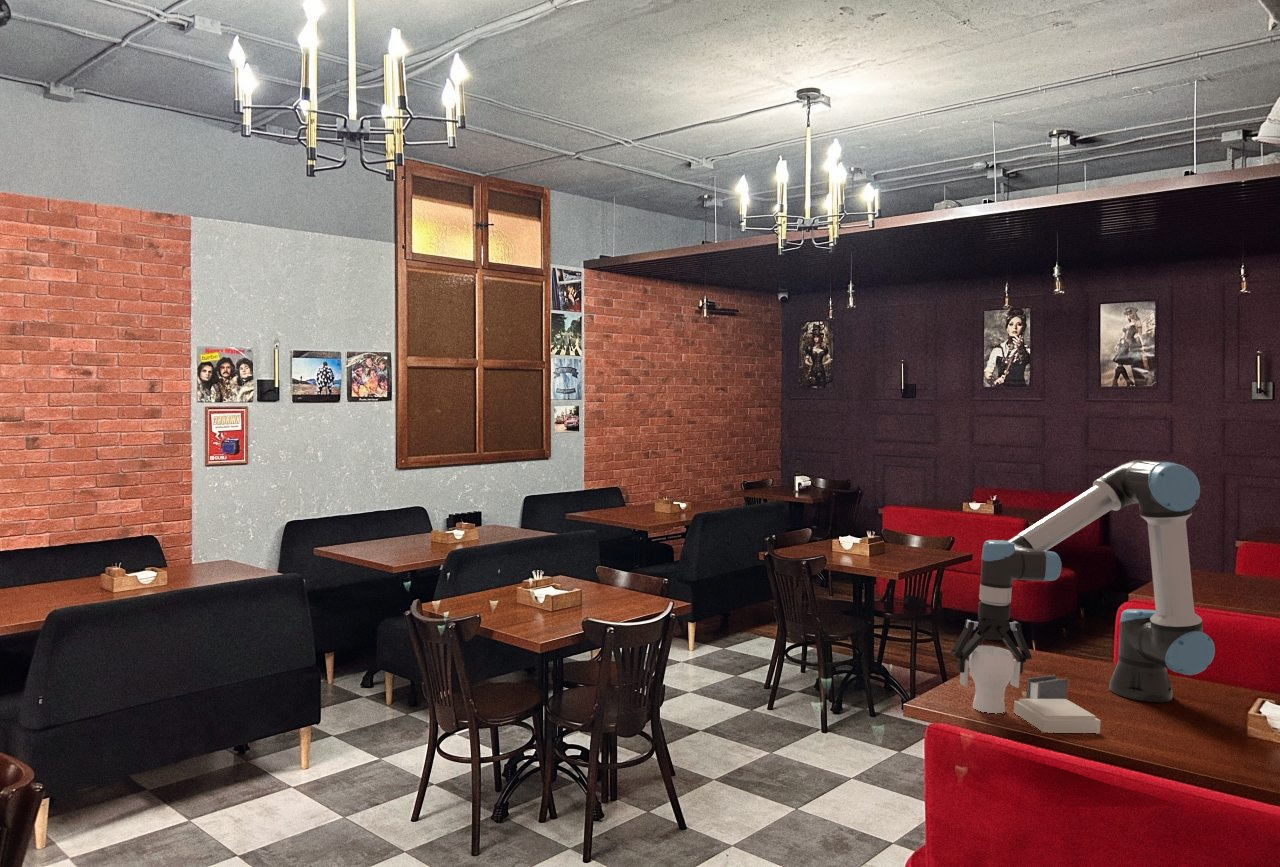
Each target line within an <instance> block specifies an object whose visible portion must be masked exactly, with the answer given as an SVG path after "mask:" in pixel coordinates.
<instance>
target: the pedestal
mask: <svg viewBox="0 0 1280 867" xmlns="http://www.w3.org/2000/svg"><path fill="white" fill-rule="evenodd" d="M1014 713H1015V714H1016V716H1017V715H1018V716H1020V717H1021V718H1023V719H1024V720H1026V721H1027V722H1029V723H1030V724H1032V725H1034V726H1035V727H1037V728H1038V729H1039V730H1041V731H1043V732H1048V733H1053V732H1054V733H1096V735H1097V734H1098V735H1100V733H1101V722H1102V721H1101V719H1099V718H1098V717H1096V715H1094V714H1093V713H1091V712H1090V711H1088V710H1086V709H1084V708H1082V707H1081V706H1079V705H1078V704H1076V703H1074V702H1072V701H1070V700H1068V699H1067V698H1066V699H1026V698H1019V699H1018V700H1014V702H1013V714H1014ZM1015 714H1014V715H1015ZM1018 716H1017V717H1018ZM1020 717H1019V718H1020ZM1021 718H1020V719H1021ZM1023 719H1022V720H1023ZM1024 720H1023V721H1024ZM1026 721H1025V722H1026ZM1027 722H1026V723H1027ZM1029 723H1028V724H1029ZM1030 724H1029V725H1030ZM1032 725H1031V726H1032ZM1035 727H1034V728H1035ZM1038 729H1037V730H1038ZM1039 730H1038V731H1039Z"/></svg>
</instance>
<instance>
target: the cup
mask: <svg viewBox="0 0 1280 867" xmlns="http://www.w3.org/2000/svg"><path fill="white" fill-rule="evenodd" d="M1013 659H1014V655H1013V654H1012V652H1011V651H1010V650H1009V649H1008V648H1007V649H1006V648H1003V647H1000V646H992V645H978V646H977V648H976V649H975V650H974V651H973V652H972V653H971V654H970V655H969V656H968V661H969V668H968V669H969V672H970V673H969V674H970V676H971V678H972V680H973V683H974V688H975V689H974V690H975V693H974V698H973V702H972V709H974V710H975V709H976V710H975V711H977V710H978V712H980V711H981V713H984V712H987V713H986V714H989V713H995V714H994V715H998V714H997V713H1002V714H1004V713H1006V706H1005V704H1006V703H1005V693H1006V688H1007V686H1008V685H1009V684H1010V683H1011V677H1012V675H1013V672H1014V661H1013ZM1003 712H1004V713H1003Z"/></svg>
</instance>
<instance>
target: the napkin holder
mask: <svg viewBox="0 0 1280 867" xmlns="http://www.w3.org/2000/svg"><path fill="white" fill-rule="evenodd" d="M1067 693H1068V678H1059V679H1057V674H1049V675H1042V676H1036V677H1035V676H1034V677H1028V678H1026V694H1025V696H1026V697H1025V699H1067Z"/></svg>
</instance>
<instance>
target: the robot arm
mask: <svg viewBox="0 0 1280 867" xmlns="http://www.w3.org/2000/svg"><path fill="white" fill-rule="evenodd" d="M1200 494H1201V487H1200V482H1199V480H1198V476H1196V474H1195V473H1194V472H1193V471H1192V470H1191V469H1190V468H1188V467H1186V466H1185V465H1182V464H1179V463H1175V462H1171V461H1159V460H1158V461H1157V460H1148V459H1136V460H1135V459H1134V460H1131V461H1128V462H1125V463H1123V464H1120V465H1119V466H1117V467H1115V468H1113V469H1111V470H1110V471H1108V472H1106V473H1105V474H1103V475H1101V476H1100V477H1098V478H1097V479H1095V480H1094V481H1093V482H1092V486H1091V487H1089V489H1087V490H1085V491H1084V492H1082V493H1080V494H1079V495H1077V496H1076V497H1075V498H1072V499H1071V500H1069V501H1068V502H1066V503H1065V504H1063V505H1062V506H1060V507H1059V508H1057V509H1056V510H1054V511H1053V512H1051V513H1049V514H1047V515H1046V516H1044V517H1042V518H1041V519H1039V521H1037V522H1035V523H1034V524H1031V525H1030V526H1029V527H1028V528H1025V530H1022V531H1021V532H1019V533H1018V534H1016V535H1014V536H1013V537H1012V538H1009V539H1008V540H1006V539H999V540H997V539H988V540H985V541H984V543H983V545H982V552H981V557H980V558H981V563H980V565H981V566H980V567H981V568H980V583H979V592H978V593H979V594H978V599H979V600H980V601H979V602H978V609H977V620H976V621H973V620H971V619H968V618H967V619H965V622H964V626H963V627H964V628H963V629H962V631H961V633H960V635H959V637H957V638H958V639H957V640H956V642H955V644H954V645H953V646H952V649H951V651H950V654H951V656H953V657H954V658H957V672H959V684H960V685H961V686H962V687H963V688H967V687H968V681H969V669H970V668H969V657H970V654H971V653H972V652H973V651H974V650H975V649H976V648H977V646H980V644H981V643H982V642H984V641H985V640H995V641H1000V640H1002V642H1003V643H1004V644H1005V646H1006V647H1007V649H1008V650H1009V651H1011V652H1012V655H1013V661H1014V672H1013V675H1012V677H1011V680H1010V685H1011V686H1012V687H1014V688H1016V689H1019V687H1020V675H1022V674H1023V672H1024V663H1026V662H1027V660H1032V654H1031V652H1030V649H1029V647H1028V646H1029V645H1028V643H1027V642H1026V640H1025V636H1024V634H1023V632H1022V623H1020V622H1018V621H1016V620H1013V621H1012V622H1010V617H1011V605H1010V604H1011V603H1012V590H1013V580H1015V581H1016V580H1017V581H1019V580H1021V581H1040V582H1048V581H1051V582H1052V581H1053V582H1054V581H1056V580H1058V578H1059V577H1060V576H1061V572H1062V566H1063V565H1062V561H1061V560H1062V559H1061V557H1060V556H1059V554H1058V553H1057V552H1055V551H1050V549H1052V548H1053V547H1054V546H1057V545H1058V544H1059V543H1061V542H1062V541H1064V540H1066V539H1067V538H1069V537H1071V536H1072V535H1073V534H1075V533H1078V532H1079V531H1080V530H1082V529H1083V528H1085V527H1086V526H1088V525H1090V524H1091V523H1092V522H1094V521H1096V520H1097V519H1099V518H1101V517H1102V516H1103V515H1105V514H1107V513H1108V512H1110V511H1115V512H1117V511H1119V510H1121V509H1123V508H1124V507H1126V506H1130V505H1133V504H1138V507H1139V516H1140V517H1141V518H1142V519H1144V521H1146V523H1147V533H1148V542H1149V552H1150V563H1151V573H1152V585H1153V595H1154V606H1155V609H1143V608H1142V609H1141V608H1140V609H1138V608H1127V609H1125V610H1123V611H1122V612H1121V614H1120V620H1119V636H1118V638H1119V639H1118V658H1117V664H1116V666H1115V668H1114V670H1113V674H1112V675H1111V678H1110V679H1109V687H1108V689H1109V691H1111V692H1112V693H1114V694H1116V695H1118V696H1121V697H1123V698H1126V699H1131V700H1136V701H1140V702H1147V703H1167V702H1170V701H1172V700H1173V688H1172V685H1171V682H1170V678H1169V674H1168V670H1167V669H1169V670H1170V671H1172V672H1174V673H1179V674H1182V675H1186V676H1193V675H1197V674H1199V673H1202V672H1203V671H1205V670H1206V669H1207V668H1208V666H1210V665H1211V663H1212V662H1213V660H1214V657H1215V654H1216V653H1215V652H1216V649H1215V648H1216V647H1215V643H1214V641H1213V639H1212V638H1211V637H1210V636H1209V635H1208V634H1207V633H1205V632H1204V629H1203V619H1202V617H1201V616H1199V615H1198V614H1197V613H1195V612H1196V611H1195V604H1194V596H1193V584H1192V576H1191V575H1192V573H1191V562H1190V552H1189V543H1188V540H1189V539H1188V531H1187V529H1188V528H1187V520H1188V519H1189V518H1190V517H1191V516H1192V515H1193V511H1192V509H1193V507H1194V506H1195V505H1196V504H1197V501H1198V500H1199V499H1200ZM976 628H977V631H976V632H975V633H974V634H973V632H974V631H975V630H976ZM1009 630H1011V631H1012V633H1013V636H1014V638H1015V641H1016V643H1017V646H1018V647H1017V646H1016V645H1015V643H1014V642H1013V641H1012V639H1011V637H1010V636H1009V634H1008V631H1009ZM972 634H973V636H972ZM969 639H970V640H969ZM1018 648H1019V649H1018ZM1014 658H1015V659H1014Z"/></svg>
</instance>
